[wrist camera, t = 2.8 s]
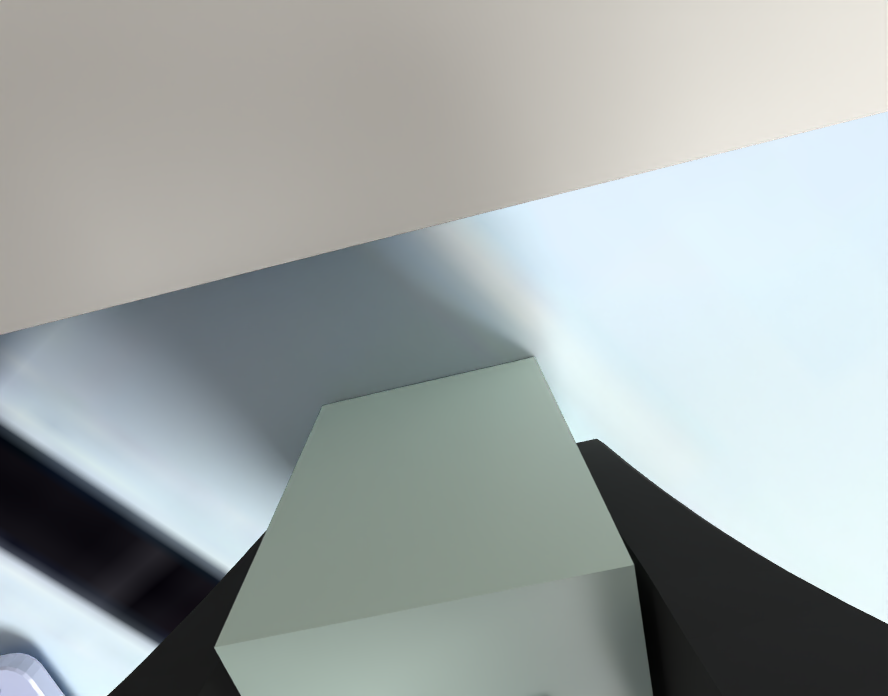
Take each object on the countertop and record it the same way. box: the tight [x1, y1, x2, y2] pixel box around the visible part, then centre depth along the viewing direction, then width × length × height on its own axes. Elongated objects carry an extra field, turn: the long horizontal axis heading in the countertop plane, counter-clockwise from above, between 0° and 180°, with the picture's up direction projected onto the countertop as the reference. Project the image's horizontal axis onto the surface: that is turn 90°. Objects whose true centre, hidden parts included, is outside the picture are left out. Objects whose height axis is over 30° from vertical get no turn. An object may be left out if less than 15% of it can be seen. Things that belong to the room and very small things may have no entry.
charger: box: [214, 357, 653, 696], centre depth 8 cm, size 4×4×5 cm
